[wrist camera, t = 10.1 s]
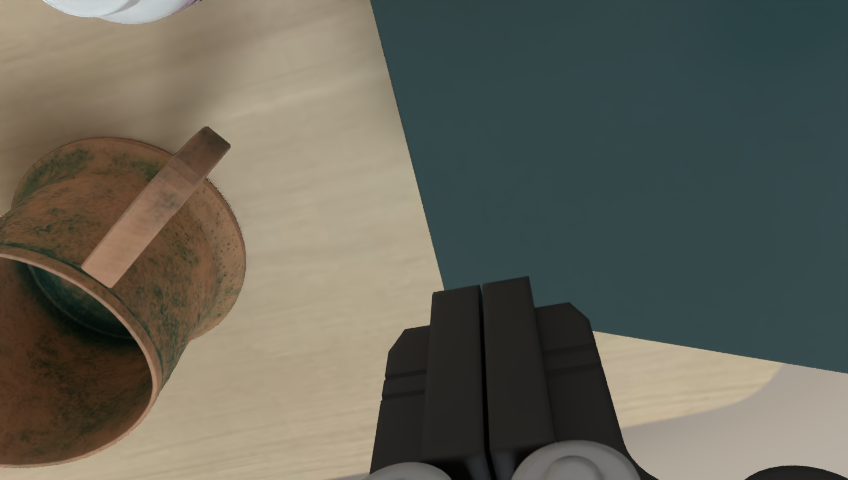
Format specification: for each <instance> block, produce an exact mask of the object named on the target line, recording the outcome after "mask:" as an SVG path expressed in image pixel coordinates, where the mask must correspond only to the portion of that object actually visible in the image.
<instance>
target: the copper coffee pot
mask: <svg viewBox="0 0 848 480" xmlns="http://www.w3.org/2000/svg"><path fill="white" fill-rule="evenodd" d="M229 149H230V144H229V143H228V142H227V141H225V140H224V139H223V138H222V137H220V136H219V135H218V134H217V133H215V132H214V131H213V130H212V129H210V128H209V127H204V128H202V129H201V130H200V131H199V132H198V133H196V134H195V135H194V136H193V137H192V138H191V139H190V140H189V141H188V142H187V143H186V144H185V145H184V146H183V147H182V148H181V149H180V150H179V151H178V152H177V153H176V154H175V155H174V156H173V155H171V154H169V153H167V152H165V151H163V150H161V149H158V148H156V147H153V146H150V145H147V144H144V143H140V142H136V141H132V140H126V139H118V138H93V139H86V140H81V141H76V142H73V143H70V144H67V145H65V146H62V147H60V148H58V149H56V150H54V151H53V152H51V153H49V154H48V155H46V156H45V157H43V158H42V159H40V160H39V161H38V162H37V163H35V164H34V165H33V166H32V167H31V168H30V169H29V170H28V172H27V173H26V174H25V176H24V177H23V179H22V180H21V182H20V184H19V186H18V188H17V190H16V192H15V195H14V198H13V202H12V206H11V210H10V211H9V212H7V213H6V214H5V215H3V216H2V217H0V467H2V468H31V467H44V466H53V465H59V464H64V463H69V462H73V461H77V460H80V459H83V458H86V457H89V456H91V455H94V454H96V453H98V452H100V451H102V450H104V449H106V448H108V447H110V446H112V445H113V444H115V443H117V442H118V441H120V440H121V439H123V438H124V437H125V436H127V435H128V434H129V433H130V432H132V431H133V430H134V429H135V428H136V427H137V426H138V425H139V424H140V423H141V422H142V421H143V420H144V418H145V417H146V416H147V414H148V413H149V411H150V410H151V408H152V406H153V405H154V403H155V401H156V399H157V397H158V395H159V393H160V391H161V389H162V388H163V387H164V385H165V384H166V382H167V381H168V379H169V378H170V375H171V373H172V371H173V370H174V368H175V367H176V365H177V363H178V361H179V359H180V357H181V355H182V353H183V351H184V349H185V348H186V346H187V345H188V343H189V342H190V340H192V339H195V338H197V337H199V336H201V335H203V334H205V333H207V332H208V331H210V330H211V329H213V328H214V327H215V326H216V325H218V324H219V323H220V322H221V321H222V320H223V319H224V318H225V316H226V315H227V314H228V313H229V311H230V310H231V309H232V307H233V305H234V303H235V302H236V300H237V297H238V295H239V293H240V291H241V288H242V285H243V281H244V276H245V268H246V255H245V247H244V242H243V238H242V234H241V231H240V228H239V226H238V223H237V221H236V219H235V217H234V215H233V213H232V211H231V210H230V208H229V206H228V205H227V203H226V202H225V200H224V199H223V197H222V196H221V195H220V194H219V192H218V191H217V190H216V189H215V188H214V187H213V186H212V184H211V183H210V182H209V181H208V180H206V179H205V177H206V176H207V175H208V174H209V173H210V171H211V170H212V169H213V168H214V167H215V165H216V164H217V163H218V162H219V161H220V159H221V158H222V157H223V156H224V155H225V154H226V152H227V151H228V150H229Z"/></svg>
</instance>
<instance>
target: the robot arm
mask: <svg viewBox="0 0 848 480" xmlns="http://www.w3.org/2000/svg"><path fill="white" fill-rule="evenodd" d="M482 290H483V294H482V291H481V288H480V285H473V286H467V287H462V288H456V289H450V290H444V291H438V292H434V293H433V295H432V306H431V320H430V325H428V326H422V327H416V328H410V329H405V330H404V331H403V333H402V334H401V335H400V337H399V338H398V340H397V341H396V342H395V344H394V345H393V347H392V348H391V349H390V351H389V353H388V359H387V366H386V372H385V378H386V380H384V385H383V391H382V401H381V404H380V411H379V417H378V423H377V430H376V436H375V443H374V449H373V455H372V462H371V468H370V475H369V476H367V477H366V478H365V479H363V480H658V479H656V478H655V477H653V476H652V475H650V474H648V473H647V472H646V471H645V470H643V469H642V468H641V467H639V465H638V464H637V463H636V462H635V461H634V460H633V459H632V457H631V456H630V454H629V453H628V451H627V449H626V446H625V444H624V441H623V438H622V434H621V431H620V427H619V423H618V420H617V416H616V413H615V409H614V406H613V402H612V399H611V395H610V392H609V388H608V385H607V381H606V377H605V374H604V370H603V367H602V364H601V360H600V356H599V353H598V349H597V347H596V342H595V339H594V335H593V332H592V328H591V324H590V321H589V319H588V318H587V317H586V316H585V315H584V314H582V313H581V312H580V311H579V310H578V309H577V308H576V307H574V306H573V305H572V304H571V303H570V302H566V303H560V304H554V305H548V306H542V307H536V308H535V305H534V300H533V294H532V289H531V284H530V279H529V276H525V277H519V278H513V279H507V280H501V281H495V282H490V283H484V284H483V285H482ZM745 480H848V479H847V478H845V477H843V476H841V475H838V474H836V473H833V472H830V471H826V470H823V469H818V468H813V467H807V466H779V467H773V468H768V469H765V470H762V471H759V472H757V473H755V474H753V475H751V476H749V477H748V478H746V479H745Z"/></svg>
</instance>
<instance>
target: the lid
mask: <svg viewBox="0 0 848 480" xmlns="http://www.w3.org/2000/svg"><path fill="white" fill-rule="evenodd" d="M370 1H371V5H372V9H373V13H374V17H375V21H376V24H377V28H378V32H379V36H380V40H381V44H382V48H383V52H384V56H385V60H386V64H387V67H388V71H389V75H390V79H391V83H392V87H393V91H394V95H395V99H396V103H397V107H398V110H399V114H400V118H401V122H402V126H403V130H404V134H405V138H406V142H407V146H408V149H409V153H410V157H411V161H412V165H413V169H414V173H415V177H416V181H417V185H418V189H419V192H420V196H421V200H422V204H423V208H424V212H425V216H426V220H427V224H428V228H429V232H430V235H431V239H432V243H433V247H434V251H435V255H436V259H437V263H438V267H439V271H440V274H441V278H442V282H443V286H444V290H450V289H456V288H462V287H467V286H473V285H480V288H481V291H482V294H483V290H482V285H483V284H484V283H490V282H495V281H501V280H507V279H513V278H519V277H525V276H529V279H530V284H531V289H532V294H533V300H534V305H535V308H536V307H542V306H548V305H554V304H560V303H566V302H570V303H571V304H572V305H573V306H574V307H576V308H577V309H578V310H579V311H580V312H581V313H582V314H584V315H585V316H586V317H587V318H588V319H589V321H590V324H591V328H592V331H597V332H603V333H609V334H615V335H621V336H627V337H633V338H638V339H644V340H650V341H656V342H662V343H668V344H674V345H680V346H686V347H692V348H698V349H704V350H710V351H716V352H722V353H728V354H734V355H740V356H746V357H752V358H758V359H764V360H770V361H776V362H782V363H787V364H793V365H799V366H806V367H811V368H817V369H823V370H829V371H835V372H841V373H847V374H848V0H370Z"/></svg>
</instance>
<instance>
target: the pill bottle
mask: <svg viewBox="0 0 848 480" xmlns="http://www.w3.org/2000/svg"><path fill="white" fill-rule="evenodd" d="M43 1H44V2H46V3H47V4H49V5H50V6H52V7H54V8H55V9H57V10H60V11H62V12H64V13H67V14H70V15H74V16H79V17H88V18H90V17H99V18H102V19H104V20H108V21H111V22H115V23H121V24H144V23H150V22H154V21H157V20H160V19H162V18H165V17H167V16H169V15H172V14H174V13H176V12H178V11H180V10H182V9H185V8H187V7H189V6H191V5H193V4H196V3H198V2H200V1H202V0H43Z"/></svg>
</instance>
